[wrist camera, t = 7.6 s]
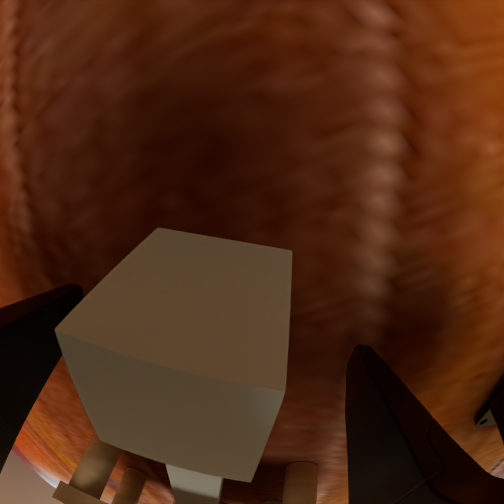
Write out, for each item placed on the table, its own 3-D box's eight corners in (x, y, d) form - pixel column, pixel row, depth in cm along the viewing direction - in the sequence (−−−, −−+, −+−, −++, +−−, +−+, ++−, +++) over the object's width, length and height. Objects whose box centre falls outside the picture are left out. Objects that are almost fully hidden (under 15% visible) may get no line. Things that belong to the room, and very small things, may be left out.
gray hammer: (292, 250, 9) (285, 391, 4) (231, 493, 17) (220, 548, 13) (158, 227, 9) (54, 328, 4) (179, 481, 18) (162, 535, 13)
